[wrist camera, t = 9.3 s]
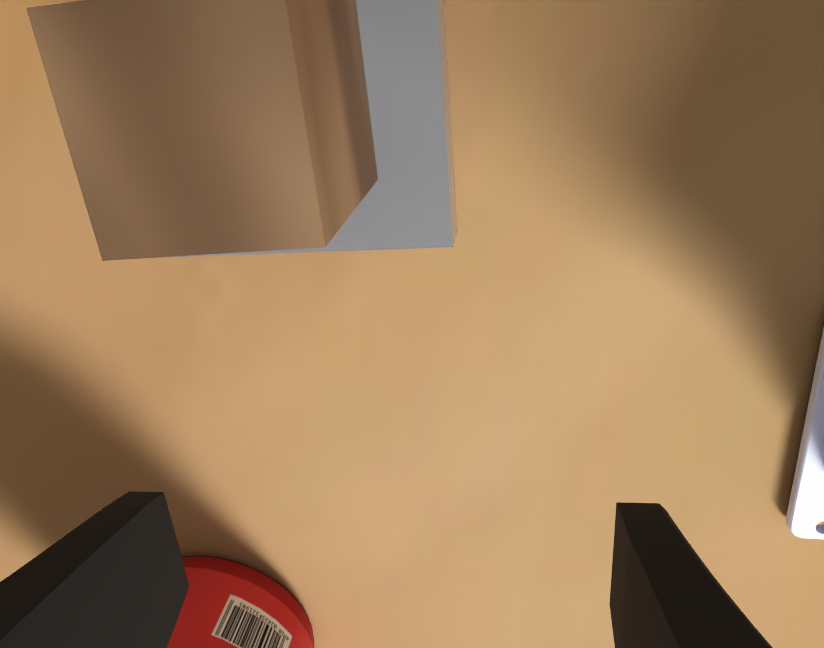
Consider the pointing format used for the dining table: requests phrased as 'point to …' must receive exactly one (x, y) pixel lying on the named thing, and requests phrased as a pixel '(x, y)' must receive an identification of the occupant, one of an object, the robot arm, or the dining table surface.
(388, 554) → the dining table surface
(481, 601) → the dining table surface
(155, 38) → the walnut block
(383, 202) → the slate slab
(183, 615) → the canned food
